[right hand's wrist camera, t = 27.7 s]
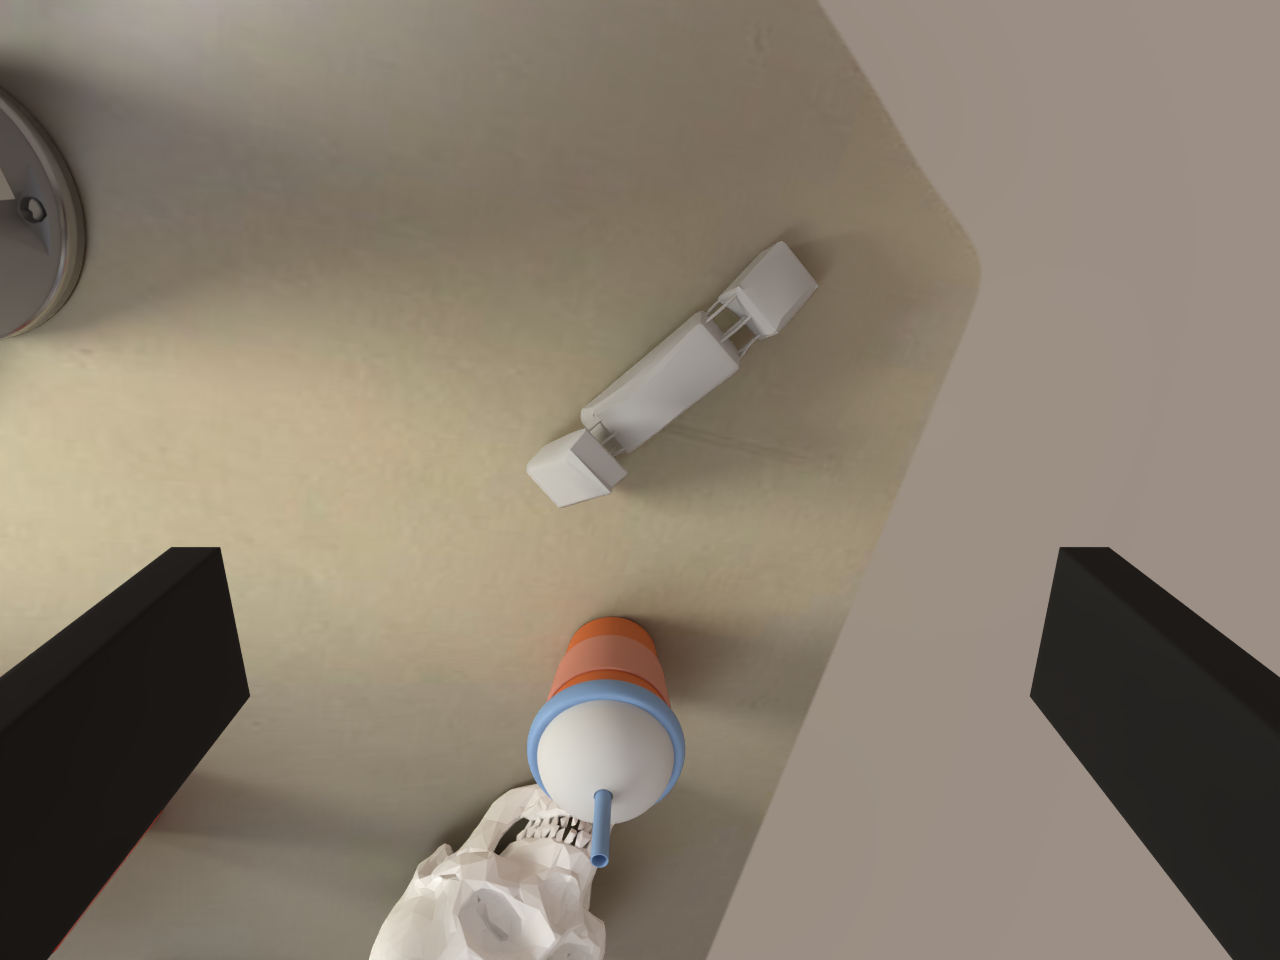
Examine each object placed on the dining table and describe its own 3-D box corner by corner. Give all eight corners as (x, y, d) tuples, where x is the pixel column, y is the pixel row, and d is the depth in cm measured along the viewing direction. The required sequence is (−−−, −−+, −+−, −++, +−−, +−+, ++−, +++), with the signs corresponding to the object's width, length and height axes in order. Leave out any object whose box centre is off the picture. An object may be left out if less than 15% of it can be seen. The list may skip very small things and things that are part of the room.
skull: (672, 807, 59) (675, 1009, 44) (510, 976, 65) (465, 1204, 50) (525, 715, 57) (476, 895, 42) (372, 899, 63) (282, 1114, 48)
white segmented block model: (563, 502, 50) (562, 541, 44) (522, 461, 49) (514, 494, 43) (805, 286, 48) (841, 293, 41) (766, 238, 47) (797, 237, 40)
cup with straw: (702, 635, 54) (730, 836, 37) (634, 729, 57) (631, 956, 40) (588, 573, 53) (563, 754, 36) (523, 673, 55) (471, 884, 38)
